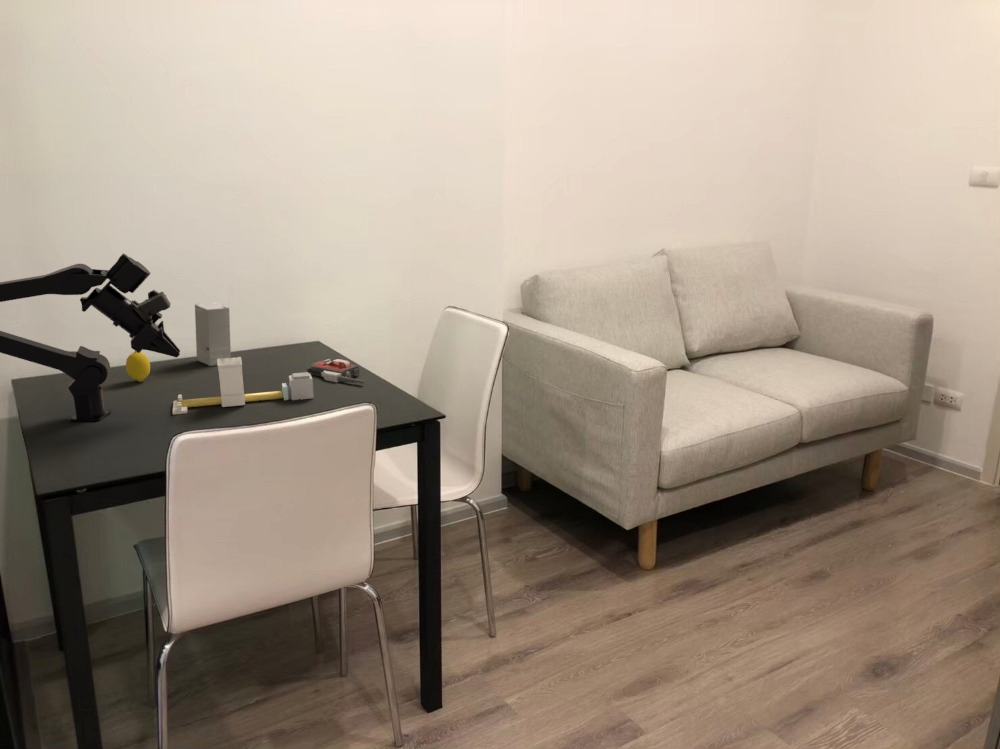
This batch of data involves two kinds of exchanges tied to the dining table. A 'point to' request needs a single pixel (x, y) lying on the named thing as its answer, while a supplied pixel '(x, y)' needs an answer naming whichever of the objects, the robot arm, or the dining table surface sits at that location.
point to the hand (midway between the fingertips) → (178, 354)
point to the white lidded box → (231, 381)
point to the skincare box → (212, 332)
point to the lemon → (138, 366)
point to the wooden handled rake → (182, 405)
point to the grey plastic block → (298, 387)
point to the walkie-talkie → (335, 370)
